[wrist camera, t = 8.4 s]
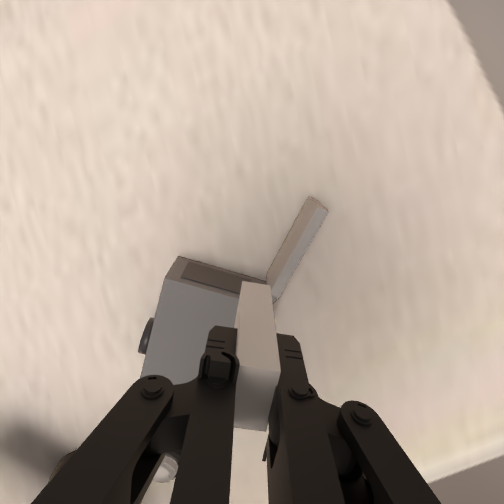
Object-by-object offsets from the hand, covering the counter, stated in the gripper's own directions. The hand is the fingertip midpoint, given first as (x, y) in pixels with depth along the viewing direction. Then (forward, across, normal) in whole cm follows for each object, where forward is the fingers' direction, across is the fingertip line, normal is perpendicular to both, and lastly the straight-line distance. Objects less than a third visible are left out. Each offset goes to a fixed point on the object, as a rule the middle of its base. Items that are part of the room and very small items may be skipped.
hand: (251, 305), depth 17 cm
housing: (+22, -3, -16) cm, 27 cm away
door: (+22, +5, -3) cm, 23 cm away
